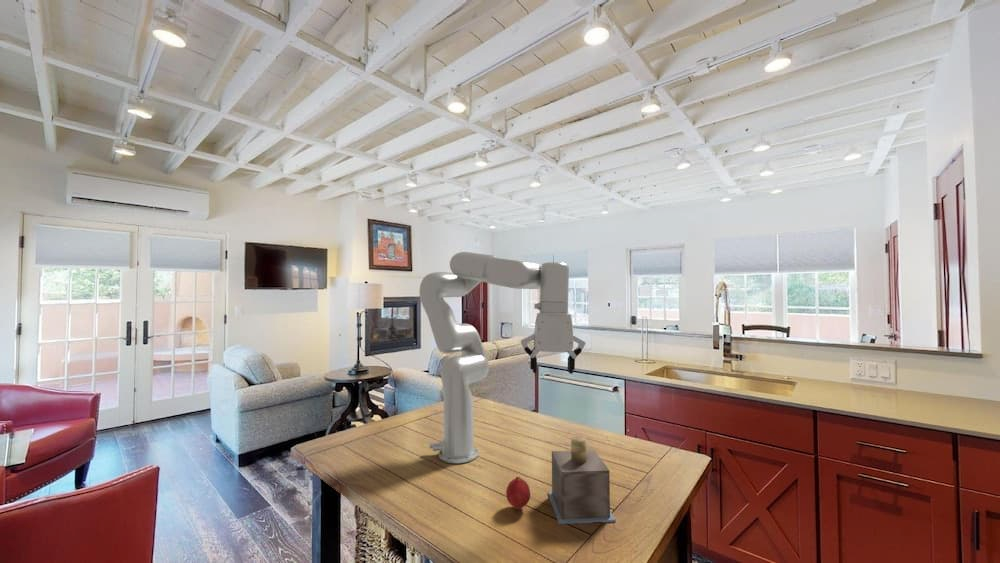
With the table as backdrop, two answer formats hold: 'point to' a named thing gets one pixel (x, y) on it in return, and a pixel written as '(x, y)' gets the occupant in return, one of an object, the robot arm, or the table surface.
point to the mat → (572, 521)
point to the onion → (518, 493)
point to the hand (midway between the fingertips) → (552, 372)
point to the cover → (580, 482)
